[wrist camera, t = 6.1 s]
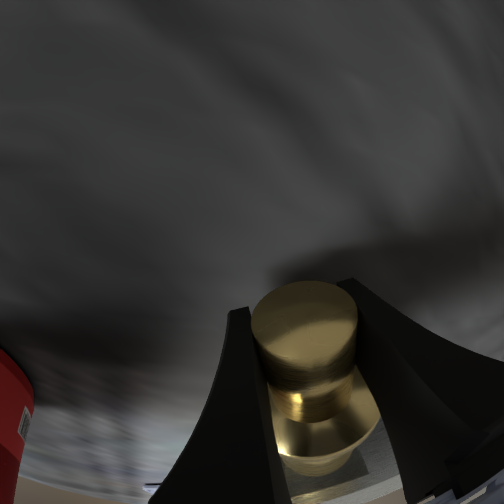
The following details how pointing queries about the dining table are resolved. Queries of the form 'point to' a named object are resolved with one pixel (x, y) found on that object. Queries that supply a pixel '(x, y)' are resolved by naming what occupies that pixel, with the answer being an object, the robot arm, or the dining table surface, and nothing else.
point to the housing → (351, 475)
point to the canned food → (12, 423)
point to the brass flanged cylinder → (313, 375)
